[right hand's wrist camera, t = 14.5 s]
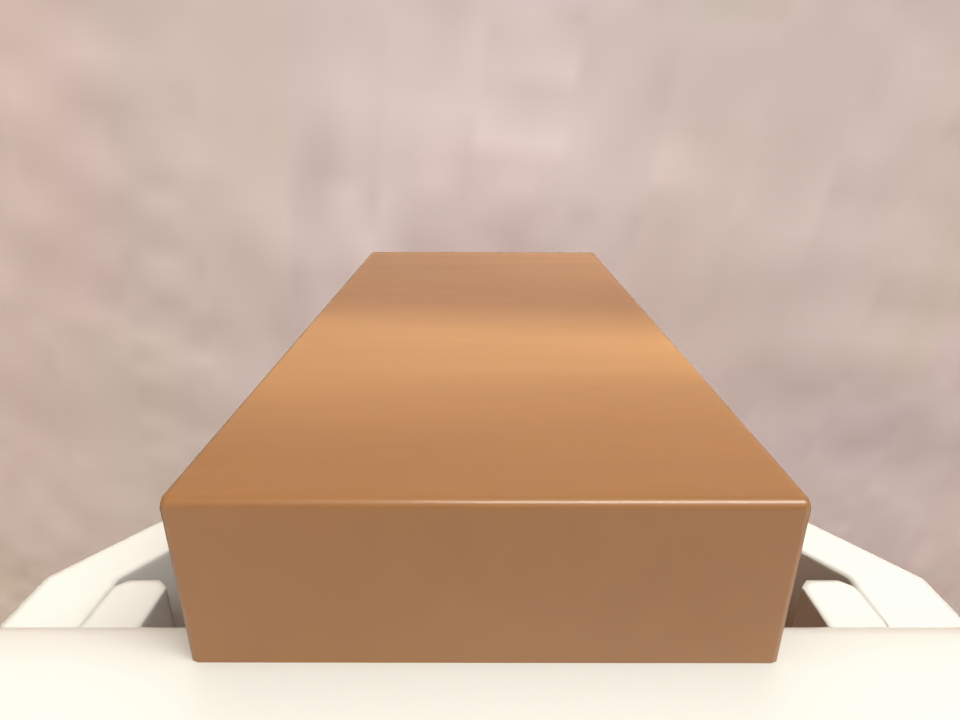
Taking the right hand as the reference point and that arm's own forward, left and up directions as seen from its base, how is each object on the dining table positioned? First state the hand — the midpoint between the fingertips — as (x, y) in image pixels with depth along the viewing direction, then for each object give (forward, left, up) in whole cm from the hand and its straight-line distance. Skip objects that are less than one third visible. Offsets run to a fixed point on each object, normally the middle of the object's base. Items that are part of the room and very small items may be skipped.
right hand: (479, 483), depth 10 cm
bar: (+1, +8, -4) cm, 9 cm away
